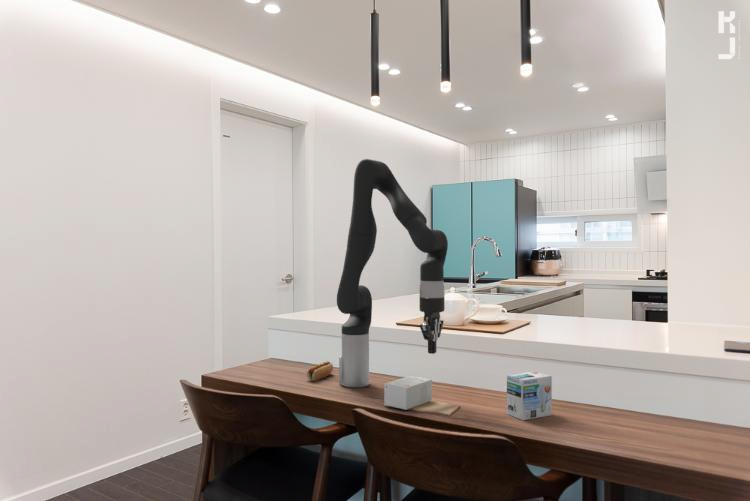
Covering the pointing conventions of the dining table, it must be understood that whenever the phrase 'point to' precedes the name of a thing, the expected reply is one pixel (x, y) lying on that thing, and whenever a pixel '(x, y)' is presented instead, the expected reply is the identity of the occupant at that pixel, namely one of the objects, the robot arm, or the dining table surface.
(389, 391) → the small box
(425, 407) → the wooden board
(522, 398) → the light bulb box
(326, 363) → the food
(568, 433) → the dining table surface
